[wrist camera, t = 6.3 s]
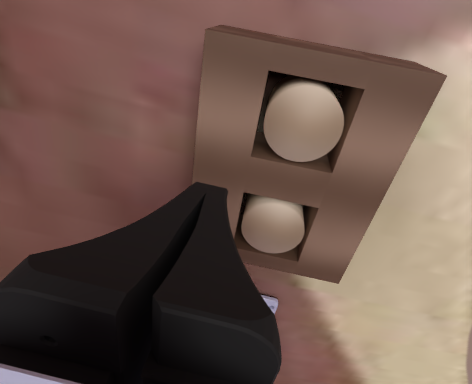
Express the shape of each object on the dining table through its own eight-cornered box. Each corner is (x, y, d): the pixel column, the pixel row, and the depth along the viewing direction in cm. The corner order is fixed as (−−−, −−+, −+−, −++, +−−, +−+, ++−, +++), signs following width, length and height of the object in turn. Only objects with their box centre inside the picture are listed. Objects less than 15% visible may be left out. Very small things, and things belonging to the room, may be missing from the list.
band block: (331, 245, 24) (338, 283, 21) (199, 216, 24) (185, 249, 21) (414, 61, 16) (447, 75, 13) (221, 24, 17) (205, 29, 14)
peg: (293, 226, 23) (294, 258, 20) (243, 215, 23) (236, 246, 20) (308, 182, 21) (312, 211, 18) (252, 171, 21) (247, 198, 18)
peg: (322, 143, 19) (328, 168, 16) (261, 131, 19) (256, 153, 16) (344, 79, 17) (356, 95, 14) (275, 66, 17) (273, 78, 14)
